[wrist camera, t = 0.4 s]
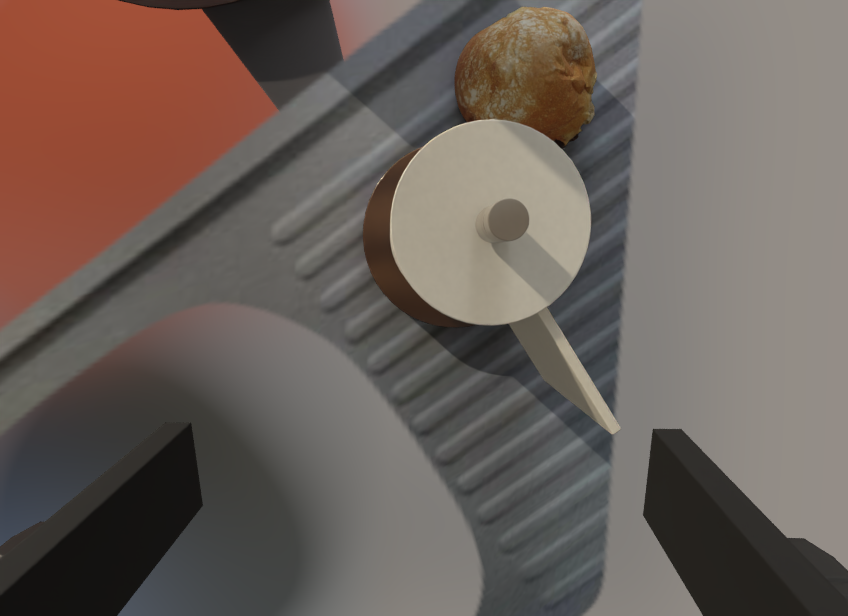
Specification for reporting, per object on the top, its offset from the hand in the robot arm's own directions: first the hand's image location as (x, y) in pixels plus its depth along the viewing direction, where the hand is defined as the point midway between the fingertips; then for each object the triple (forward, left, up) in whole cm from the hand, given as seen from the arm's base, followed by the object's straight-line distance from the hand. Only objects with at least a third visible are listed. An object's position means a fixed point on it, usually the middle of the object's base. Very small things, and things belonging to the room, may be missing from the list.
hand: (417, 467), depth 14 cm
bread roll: (-15, +14, -25) cm, 32 cm away
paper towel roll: (-2, +6, -23) cm, 24 cm away
